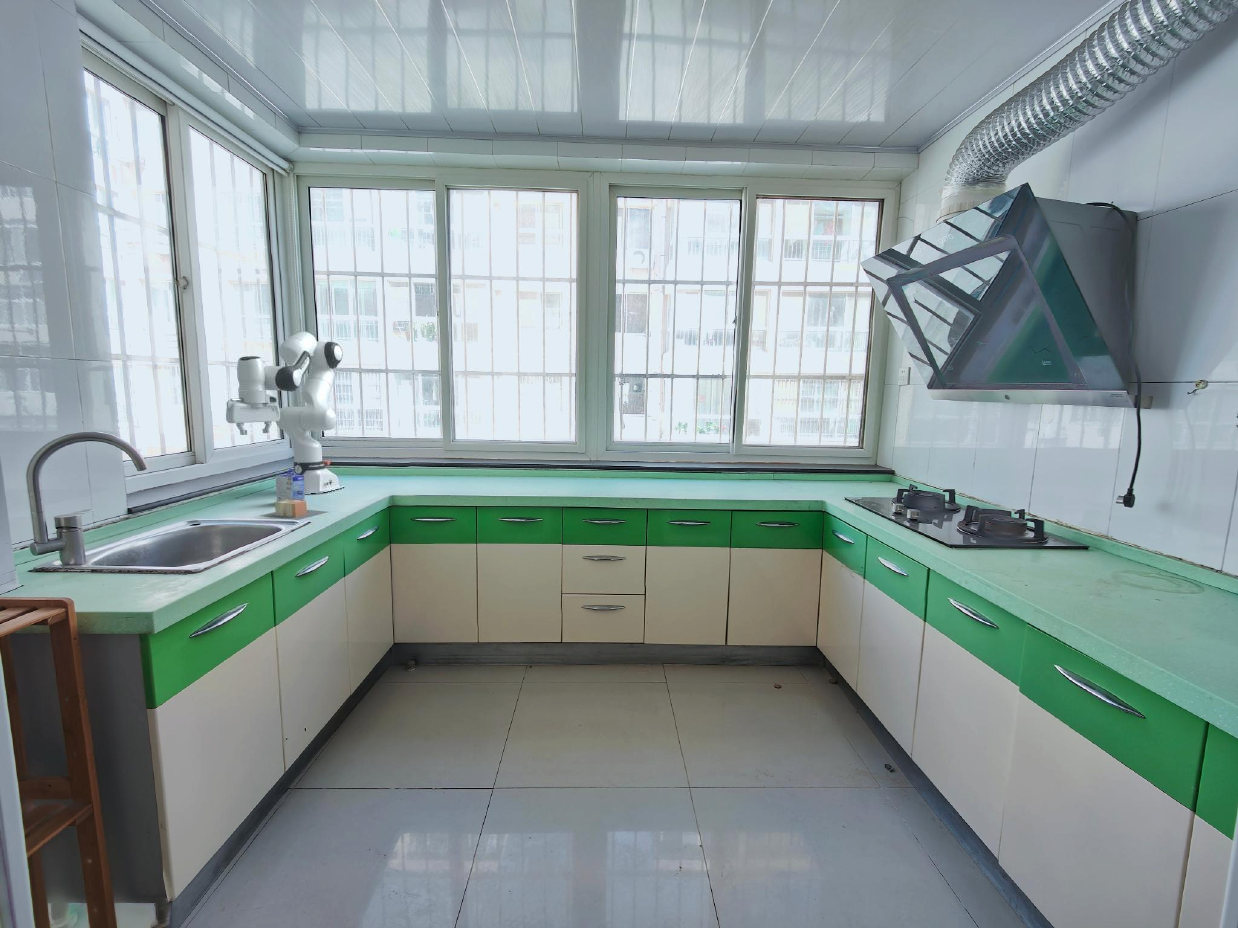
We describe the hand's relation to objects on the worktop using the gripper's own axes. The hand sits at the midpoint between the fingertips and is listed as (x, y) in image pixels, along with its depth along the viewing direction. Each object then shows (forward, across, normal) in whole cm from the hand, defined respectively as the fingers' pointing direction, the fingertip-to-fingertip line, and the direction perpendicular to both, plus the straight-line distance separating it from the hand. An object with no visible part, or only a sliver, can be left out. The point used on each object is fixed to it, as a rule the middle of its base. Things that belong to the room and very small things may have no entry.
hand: (255, 434), depth 209 cm
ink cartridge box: (+29, +8, -7) cm, 31 cm away
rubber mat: (+29, -6, -24) cm, 38 cm away
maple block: (+26, -8, -20) cm, 34 cm away
